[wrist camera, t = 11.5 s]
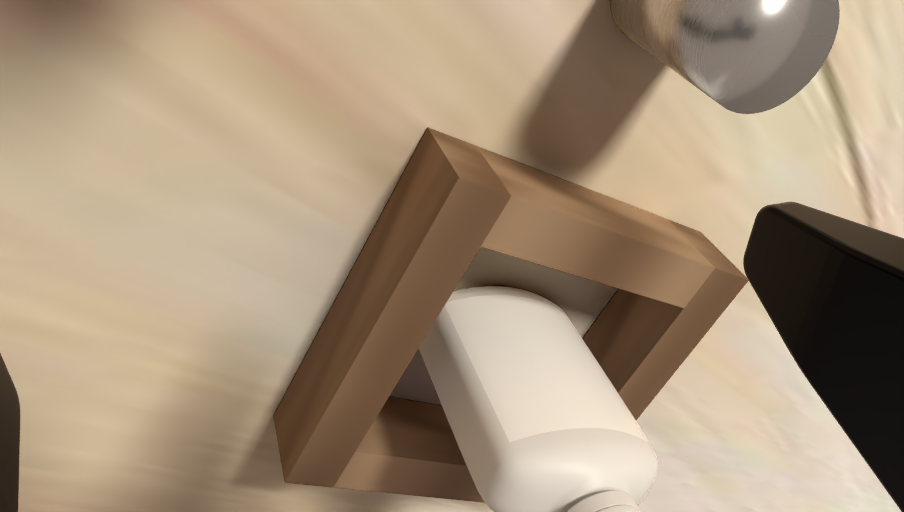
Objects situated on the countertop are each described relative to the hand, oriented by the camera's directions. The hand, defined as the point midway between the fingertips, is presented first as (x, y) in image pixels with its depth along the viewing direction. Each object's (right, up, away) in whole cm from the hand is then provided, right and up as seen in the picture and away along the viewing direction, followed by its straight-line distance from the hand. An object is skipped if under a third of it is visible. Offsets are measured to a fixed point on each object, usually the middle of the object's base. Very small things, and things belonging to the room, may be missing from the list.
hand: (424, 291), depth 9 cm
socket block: (+2, -2, +19) cm, 19 cm away
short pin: (+6, +8, +13) cm, 17 cm away
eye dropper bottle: (+2, -2, +19) cm, 19 cm away
